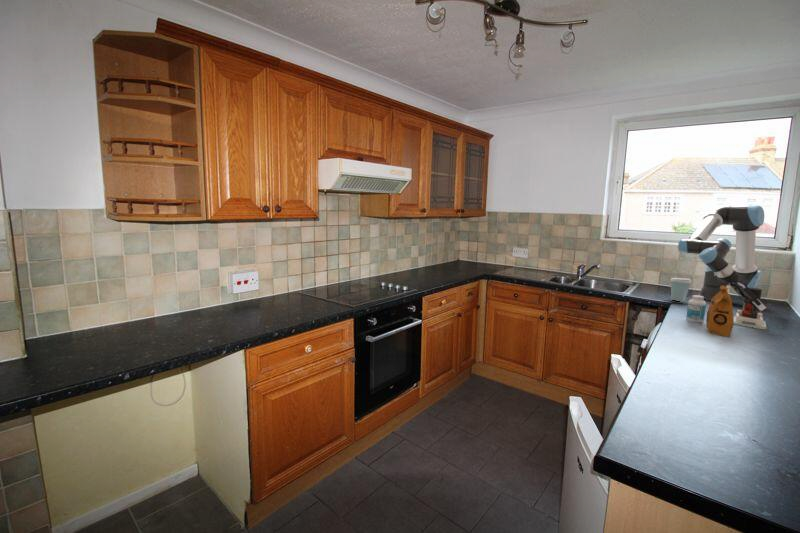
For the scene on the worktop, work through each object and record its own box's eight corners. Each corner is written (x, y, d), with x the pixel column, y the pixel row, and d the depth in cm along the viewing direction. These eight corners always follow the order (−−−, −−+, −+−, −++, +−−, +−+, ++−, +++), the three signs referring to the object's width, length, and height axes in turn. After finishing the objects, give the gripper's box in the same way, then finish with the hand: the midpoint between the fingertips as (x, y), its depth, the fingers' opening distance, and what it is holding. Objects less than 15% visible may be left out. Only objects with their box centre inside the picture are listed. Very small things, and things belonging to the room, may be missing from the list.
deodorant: (760, 318, 195) (765, 290, 193) (748, 318, 195) (753, 289, 193) (749, 315, 201) (754, 287, 198) (738, 315, 201) (743, 287, 198)
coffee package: (703, 333, 181) (711, 287, 177) (704, 327, 190) (711, 283, 187) (731, 338, 175) (739, 291, 171) (731, 331, 184) (738, 287, 181)
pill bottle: (697, 319, 203) (701, 294, 201) (707, 323, 196) (711, 298, 194) (682, 318, 204) (686, 294, 202) (691, 322, 197) (695, 297, 195)
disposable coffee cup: (663, 299, 246) (666, 276, 244) (676, 298, 249) (679, 276, 247) (680, 303, 236) (683, 280, 234) (692, 302, 239) (696, 279, 237)
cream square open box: (731, 318, 207) (733, 309, 206) (764, 323, 198) (766, 313, 198) (731, 323, 197) (732, 314, 196) (766, 329, 188) (767, 319, 187)
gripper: (710, 275, 208) (742, 307, 206) (729, 281, 190) (763, 317, 188) (724, 266, 206) (755, 298, 204) (743, 272, 188) (778, 307, 186)
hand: (759, 307), depth 196 cm, fingers closed on deodorant, 6 cm apart
